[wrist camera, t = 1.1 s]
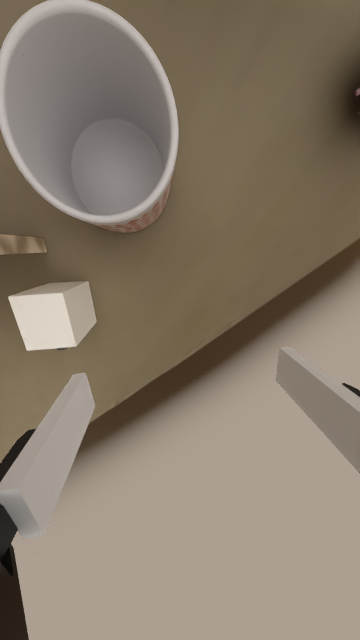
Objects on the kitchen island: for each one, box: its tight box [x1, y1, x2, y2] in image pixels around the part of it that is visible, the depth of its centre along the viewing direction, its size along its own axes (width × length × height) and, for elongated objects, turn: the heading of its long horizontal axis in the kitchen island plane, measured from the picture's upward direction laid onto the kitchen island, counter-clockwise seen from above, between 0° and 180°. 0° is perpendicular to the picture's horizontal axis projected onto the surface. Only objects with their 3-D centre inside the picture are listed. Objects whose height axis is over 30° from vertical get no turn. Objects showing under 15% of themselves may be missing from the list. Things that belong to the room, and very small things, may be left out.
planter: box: [0, 0, 178, 233], centre depth 21 cm, size 14×14×13 cm
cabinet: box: [8, 281, 97, 351], centre depth 28 cm, size 8×6×9 cm
